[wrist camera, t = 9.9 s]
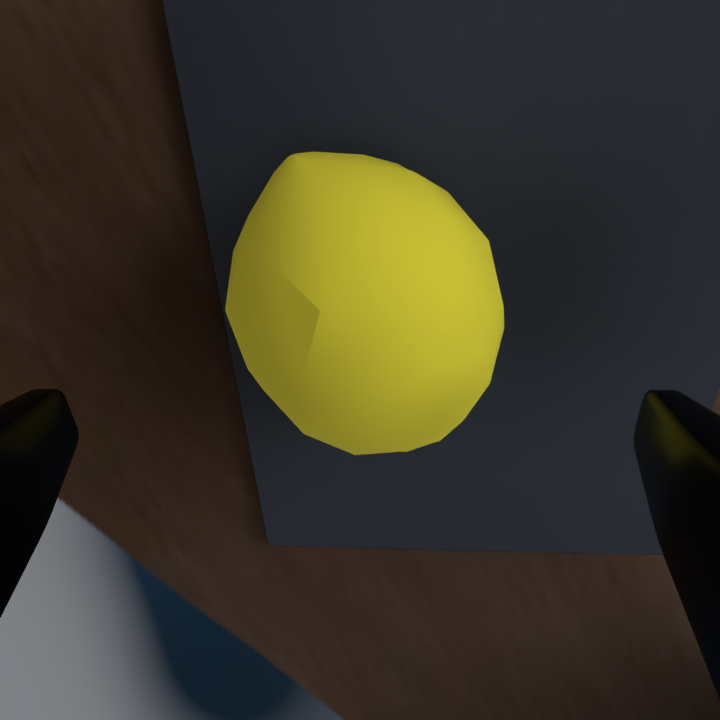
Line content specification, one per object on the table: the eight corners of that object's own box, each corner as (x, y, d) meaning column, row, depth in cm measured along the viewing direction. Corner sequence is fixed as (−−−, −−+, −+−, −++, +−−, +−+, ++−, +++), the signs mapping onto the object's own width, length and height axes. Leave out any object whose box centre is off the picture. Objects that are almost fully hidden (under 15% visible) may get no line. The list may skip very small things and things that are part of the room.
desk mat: (953, -357, 9) (974, -370, 9) (659, 545, 20) (663, 555, 19) (115, -275, 10) (105, -284, 10) (270, 536, 21) (268, 545, 21)
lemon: (206, 173, 14) (106, 273, 9) (429, 65, 12) (439, 122, 8) (339, 402, 17) (314, 558, 13) (528, 340, 16) (575, 492, 11)
